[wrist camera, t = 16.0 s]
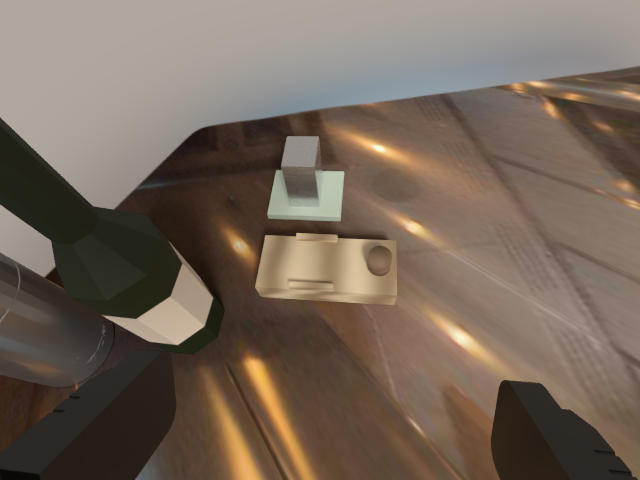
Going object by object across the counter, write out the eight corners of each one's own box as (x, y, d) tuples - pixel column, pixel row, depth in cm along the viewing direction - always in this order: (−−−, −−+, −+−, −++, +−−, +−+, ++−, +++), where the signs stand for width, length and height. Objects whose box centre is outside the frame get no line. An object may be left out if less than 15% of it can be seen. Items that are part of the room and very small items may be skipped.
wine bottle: (220, 280, 45) (47, 49, 19) (229, 344, 41) (20, 157, 15) (154, 298, 44) (-116, 85, 19) (156, 365, 40) (-192, 207, 14)
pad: (268, 218, 49) (267, 214, 48) (277, 174, 53) (276, 170, 52) (340, 221, 48) (340, 217, 47) (344, 176, 52) (343, 171, 51)
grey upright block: (290, 206, 49) (281, 166, 42) (296, 175, 52) (287, 132, 45) (319, 207, 48) (314, 166, 41) (323, 175, 51) (319, 133, 44)
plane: (260, 296, 43) (250, 278, 39) (270, 247, 47) (261, 224, 42) (394, 305, 41) (399, 286, 37) (393, 252, 45) (398, 229, 40)
